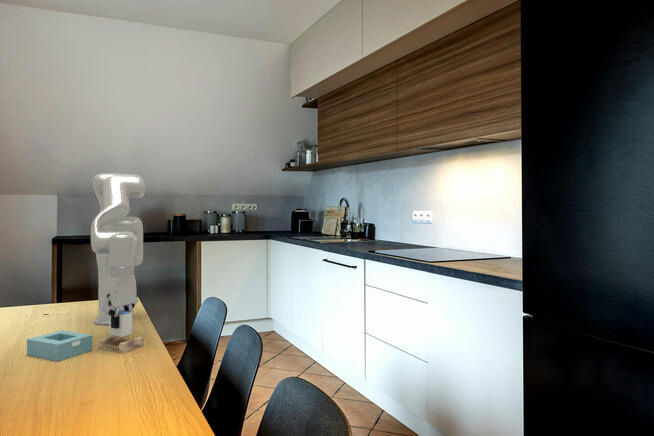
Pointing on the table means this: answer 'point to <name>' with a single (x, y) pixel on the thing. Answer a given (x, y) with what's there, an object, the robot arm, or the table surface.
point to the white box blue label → (122, 324)
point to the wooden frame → (120, 344)
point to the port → (59, 345)
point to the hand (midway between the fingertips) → (120, 325)
